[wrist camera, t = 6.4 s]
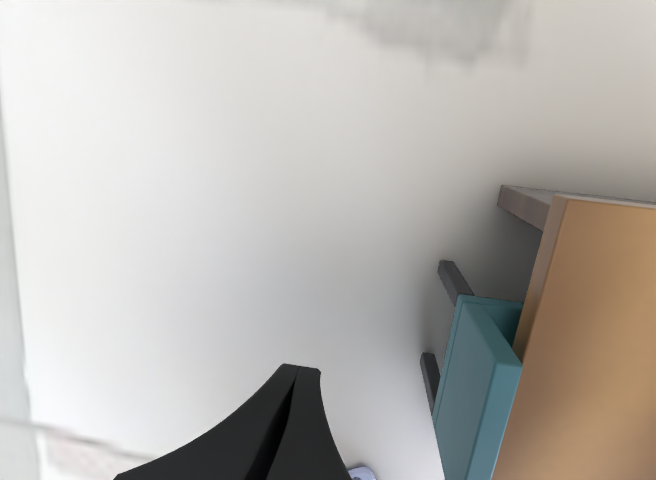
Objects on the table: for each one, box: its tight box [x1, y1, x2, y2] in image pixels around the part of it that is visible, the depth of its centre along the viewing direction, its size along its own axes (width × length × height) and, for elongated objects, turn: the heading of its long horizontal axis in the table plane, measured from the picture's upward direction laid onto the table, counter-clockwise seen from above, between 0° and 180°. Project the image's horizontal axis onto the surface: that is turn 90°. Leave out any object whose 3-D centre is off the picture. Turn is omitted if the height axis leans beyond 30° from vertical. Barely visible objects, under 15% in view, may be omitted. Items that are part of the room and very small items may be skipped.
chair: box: [420, 260, 524, 480], centre depth 16 cm, size 8×6×9 cm
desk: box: [491, 185, 656, 480], centre depth 16 cm, size 11×15×7 cm
